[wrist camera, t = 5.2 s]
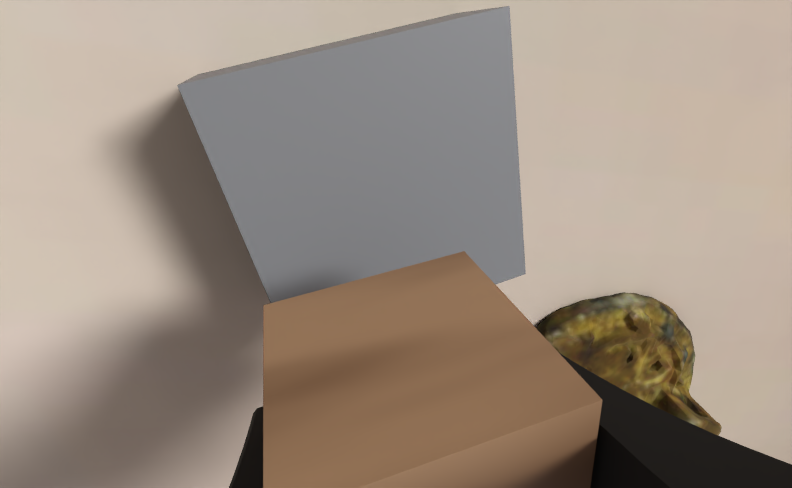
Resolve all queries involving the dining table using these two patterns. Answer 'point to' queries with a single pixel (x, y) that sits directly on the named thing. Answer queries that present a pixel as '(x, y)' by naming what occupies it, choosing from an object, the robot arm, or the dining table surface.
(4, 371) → the dining table surface
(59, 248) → the dining table surface
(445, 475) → the walnut cube
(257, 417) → the robot arm
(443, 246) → the grey block
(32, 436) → the dining table surface
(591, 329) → the seal
